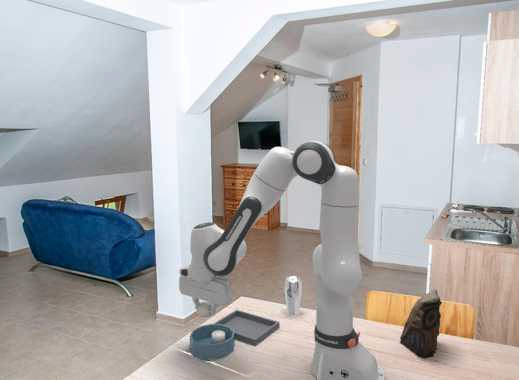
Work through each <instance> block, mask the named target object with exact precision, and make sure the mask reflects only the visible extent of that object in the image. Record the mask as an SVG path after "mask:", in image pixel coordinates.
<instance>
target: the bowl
mask: <svg viewBox="0 0 519 380" xmlns="http://www.w3.org/2000/svg"><path fill="white" fill-rule="evenodd" d="M217 330H221V331H224V332H225V342H221V343H217V344H212V332H214V331H217ZM235 346H236V339H235V332H234V330H233V329H232V328H231V327H229V326H226V325H223V324H214V323H207V324H203V325H199V326H198V327H196V328H194V329H192V330H191V333H190V334H189V350H190V351H191V355H192V356H193V358H195V359H197V360H200V361H202V362H203V361H204V362H208V361H209V362H210V361H211V359H213V360H215V359H219V358H220V359H221V358H223V357H226V356H228V355H229V354H231V353H233V351H234V349H235Z"/></svg>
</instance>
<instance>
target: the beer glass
mask: <svg viewBox="0 0 519 380" xmlns="http://www.w3.org/2000/svg"><path fill="white" fill-rule="evenodd" d="M302 283H303V282H302V278H301V277H300V276H295V275H294V276H292V275H290V276H287V277H285V278H284V297H285V303H286V310H285V314H286V315H287V316H291V317H297V316H300V315H301V308H300V307H301V306H300V305H301V299H302V294H303V285H302Z"/></svg>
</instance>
